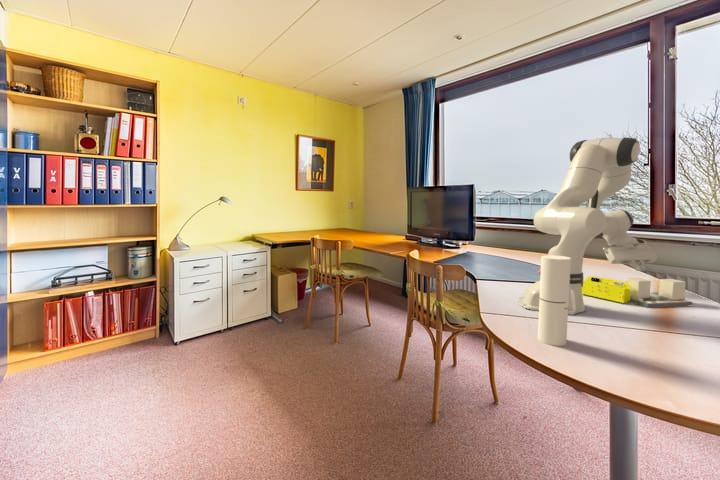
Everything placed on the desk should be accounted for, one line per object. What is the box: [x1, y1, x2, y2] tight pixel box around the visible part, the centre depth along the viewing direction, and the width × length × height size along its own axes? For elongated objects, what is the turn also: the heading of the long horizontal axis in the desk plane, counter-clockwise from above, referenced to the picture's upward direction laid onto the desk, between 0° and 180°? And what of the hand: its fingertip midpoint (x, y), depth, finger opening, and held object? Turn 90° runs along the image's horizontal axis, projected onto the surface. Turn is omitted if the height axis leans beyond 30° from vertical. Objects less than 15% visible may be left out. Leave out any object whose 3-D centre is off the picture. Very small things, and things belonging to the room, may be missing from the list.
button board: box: [627, 292, 693, 309], centre depth 121 cm, size 18×13×2 cm
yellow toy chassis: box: [582, 275, 631, 304], centre depth 126 cm, size 16×6×8 cm, turn 26°
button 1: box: [626, 277, 652, 298], centre depth 122 cm, size 5×6×7 cm
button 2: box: [657, 278, 687, 300], centre depth 120 cm, size 5×6×7 cm
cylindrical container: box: [537, 254, 571, 347], centre depth 88 cm, size 7×7×25 cm
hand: (641, 270), depth 131 cm, fingers closed
